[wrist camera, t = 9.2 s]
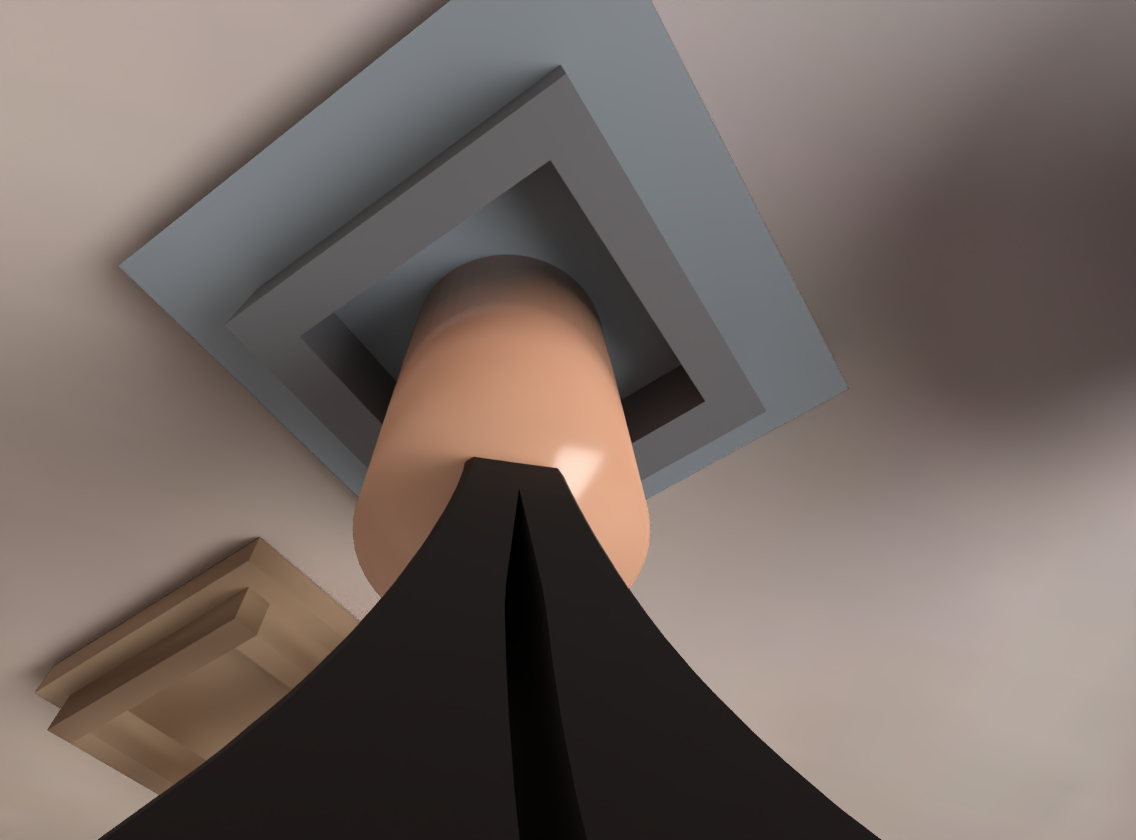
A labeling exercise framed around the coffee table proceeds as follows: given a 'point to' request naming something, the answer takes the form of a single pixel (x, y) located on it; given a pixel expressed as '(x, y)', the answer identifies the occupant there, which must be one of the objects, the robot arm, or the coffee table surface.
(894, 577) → the coffee table surface
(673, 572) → the coffee table surface
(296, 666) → the holder
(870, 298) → the coffee table surface
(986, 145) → the coffee table surface
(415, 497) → the peg
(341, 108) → the socket board
